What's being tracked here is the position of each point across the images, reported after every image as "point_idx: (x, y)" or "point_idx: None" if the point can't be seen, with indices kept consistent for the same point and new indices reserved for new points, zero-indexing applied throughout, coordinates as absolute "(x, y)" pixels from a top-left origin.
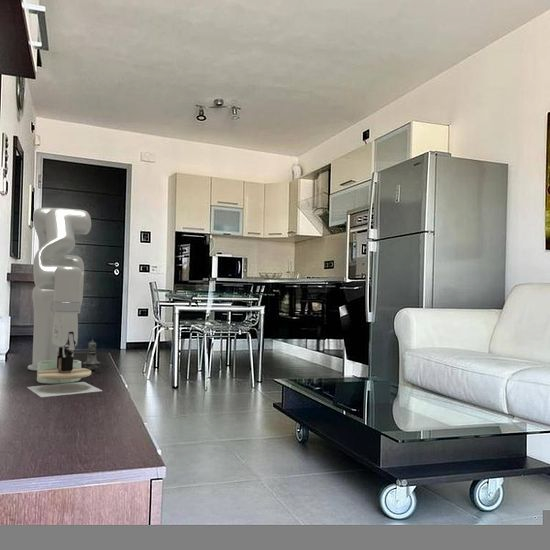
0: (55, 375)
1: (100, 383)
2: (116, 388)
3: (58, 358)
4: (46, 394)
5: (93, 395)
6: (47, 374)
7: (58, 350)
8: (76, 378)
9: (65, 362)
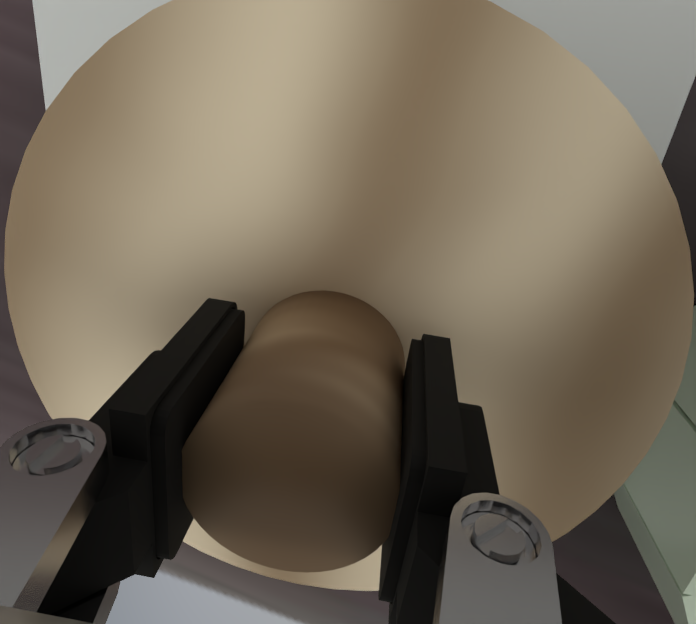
0: (122, 161)
1: None
2: (184, 547)
3: (414, 433)
4: (134, 11)
5: (3, 343)
6: (247, 94)
7: (466, 588)
8: (624, 514)
9: (115, 394)
